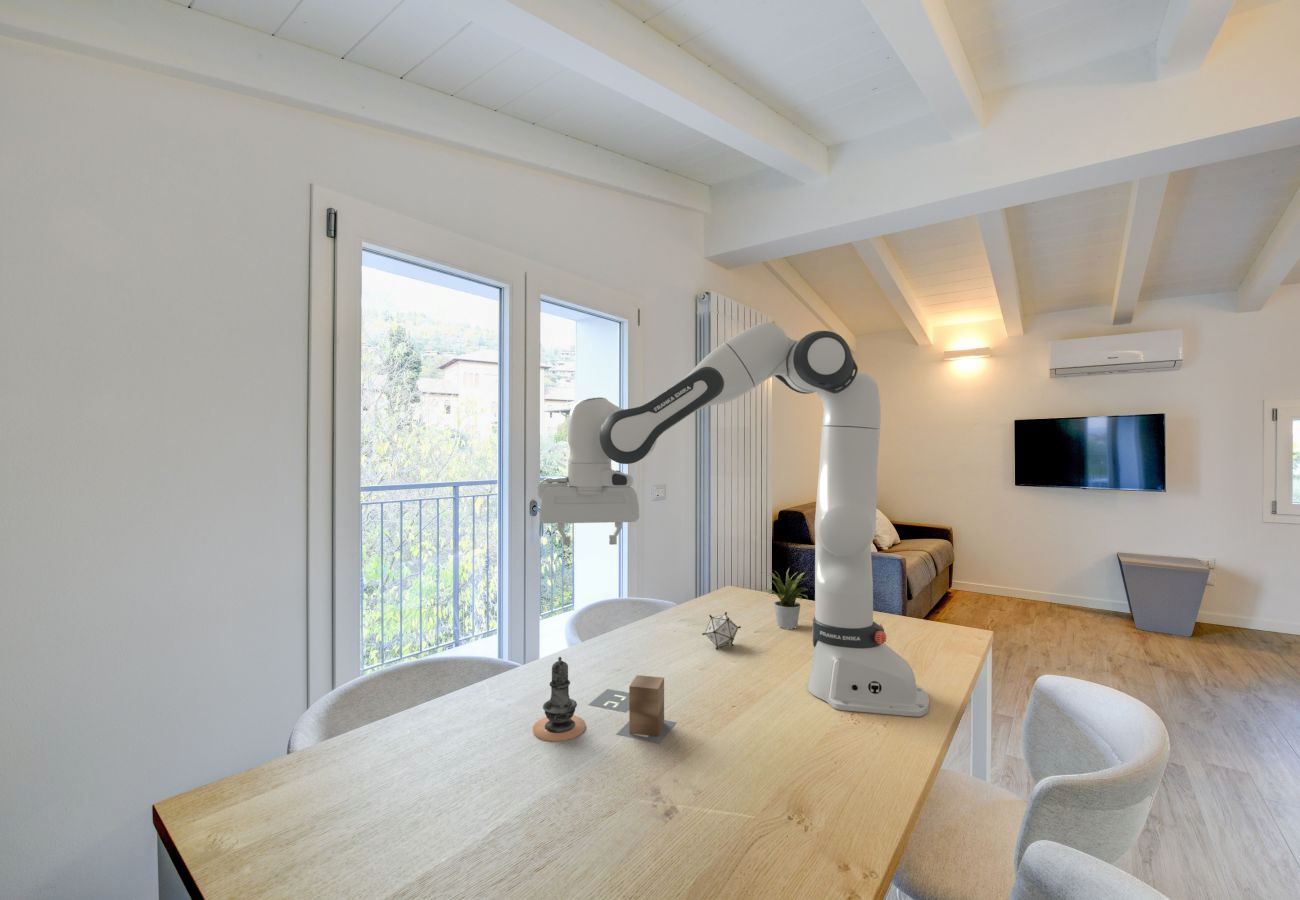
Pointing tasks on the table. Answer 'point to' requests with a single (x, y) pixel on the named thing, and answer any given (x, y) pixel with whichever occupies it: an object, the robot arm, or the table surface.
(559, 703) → the salt shaker
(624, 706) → the grey marker tile
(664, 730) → the tile block
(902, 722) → the table surface
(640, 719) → the walnut block
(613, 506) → the robot arm
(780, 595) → the house plant
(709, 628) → the white icosahedron model
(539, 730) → the coaster
